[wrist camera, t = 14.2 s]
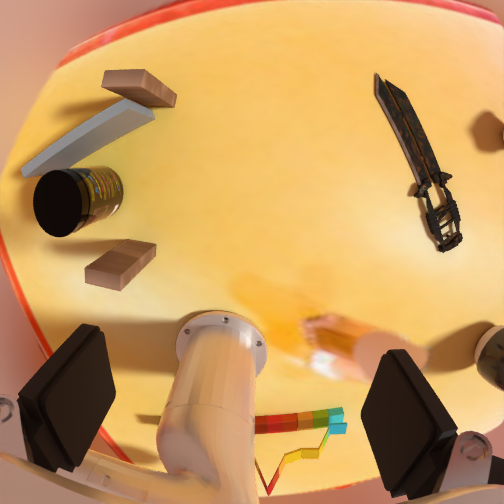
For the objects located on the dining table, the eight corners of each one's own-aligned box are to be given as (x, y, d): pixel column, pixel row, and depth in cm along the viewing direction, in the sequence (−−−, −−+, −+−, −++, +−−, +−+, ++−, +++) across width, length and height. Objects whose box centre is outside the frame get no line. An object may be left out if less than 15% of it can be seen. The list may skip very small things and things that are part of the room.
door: (149, 103, 31) (121, 89, 23) (155, 119, 32) (128, 108, 24) (56, 158, 33) (18, 161, 25) (61, 172, 33) (23, 178, 26)
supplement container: (100, 154, 33) (52, 155, 23) (136, 188, 35) (94, 199, 25) (73, 195, 35) (24, 208, 25) (106, 228, 36) (62, 251, 26)
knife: (364, 77, 31) (368, 74, 29) (404, 66, 30) (409, 63, 28) (428, 257, 37) (433, 260, 35) (461, 239, 36) (467, 241, 35)
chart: (168, 426, 46) (149, 491, 32) (163, 414, 46) (141, 481, 31) (340, 418, 45) (358, 486, 31) (341, 406, 44) (362, 476, 30)
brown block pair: (155, 256, 37) (120, 291, 26) (127, 251, 37) (85, 283, 26) (177, 94, 31) (144, 69, 21) (146, 93, 31) (105, 70, 21)
